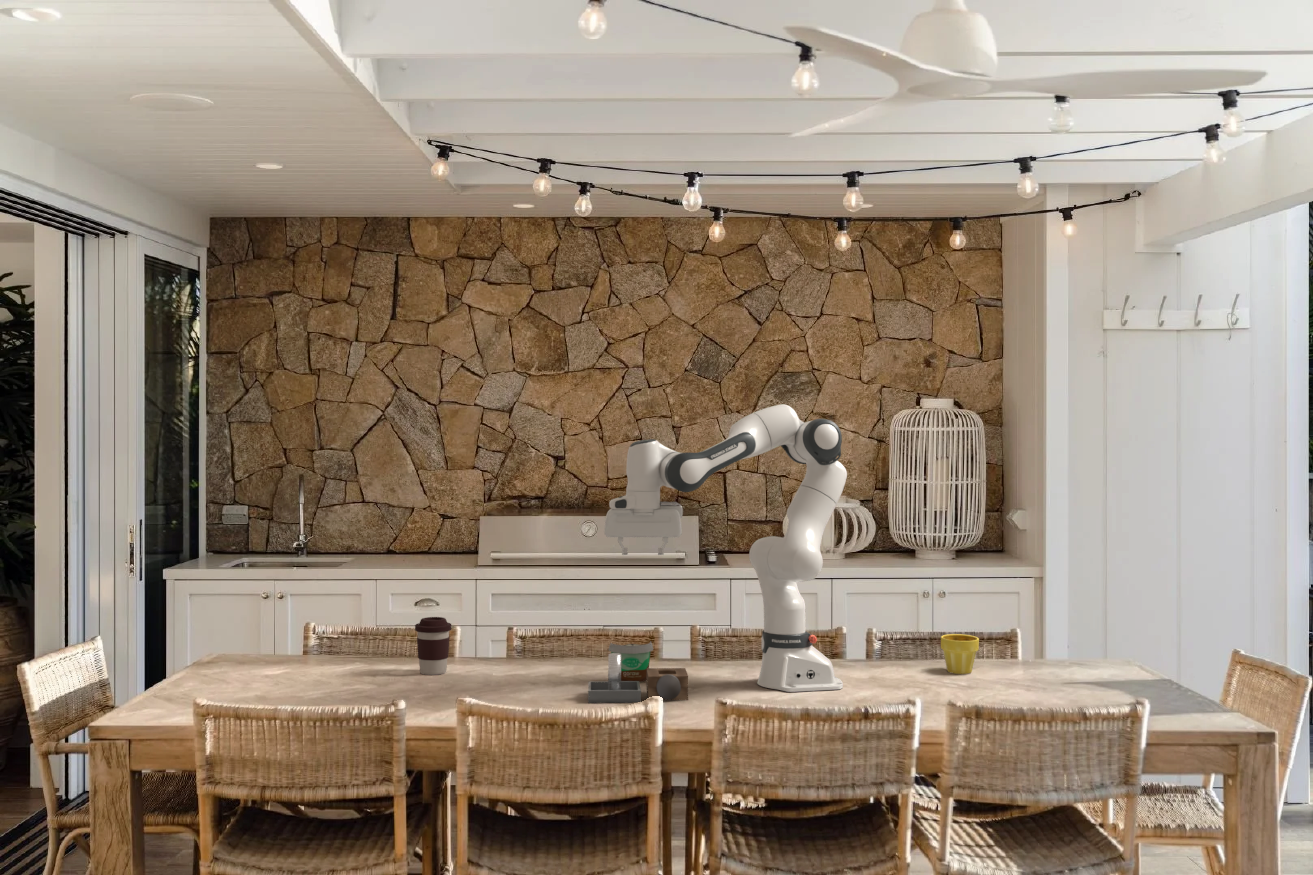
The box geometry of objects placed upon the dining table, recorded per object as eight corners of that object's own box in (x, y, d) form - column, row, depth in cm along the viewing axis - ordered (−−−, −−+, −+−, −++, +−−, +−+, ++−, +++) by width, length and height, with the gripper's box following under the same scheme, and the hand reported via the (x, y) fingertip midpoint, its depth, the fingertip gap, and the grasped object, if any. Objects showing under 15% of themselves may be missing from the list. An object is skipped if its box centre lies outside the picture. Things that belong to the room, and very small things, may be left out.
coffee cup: (455, 669, 337) (455, 616, 337) (445, 676, 328) (445, 621, 327) (420, 668, 338) (421, 615, 338) (410, 675, 328) (410, 621, 328)
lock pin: (620, 692, 305) (621, 653, 305) (620, 695, 302) (621, 655, 302) (607, 692, 305) (608, 652, 305) (608, 695, 302) (608, 655, 302)
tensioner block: (685, 691, 312) (685, 666, 312) (688, 701, 300) (688, 675, 300) (646, 691, 311) (646, 666, 311) (648, 701, 299) (648, 675, 299)
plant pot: (969, 677, 331) (970, 641, 330) (934, 672, 337) (934, 637, 337) (984, 671, 339) (984, 636, 339) (949, 666, 345) (949, 632, 345)
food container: (613, 684, 319) (613, 646, 319) (608, 679, 325) (608, 642, 325) (658, 681, 323) (658, 644, 322) (652, 677, 328) (652, 640, 328)
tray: (639, 692, 309) (639, 681, 309) (640, 702, 298) (640, 690, 298) (588, 693, 309) (588, 681, 309) (588, 702, 298) (588, 690, 298)
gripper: (682, 500, 317) (681, 553, 317) (604, 500, 316) (604, 553, 316) (683, 502, 311) (683, 555, 311) (604, 502, 310) (604, 555, 310)
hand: (642, 554), depth 314 cm, fingers open, 8 cm apart
